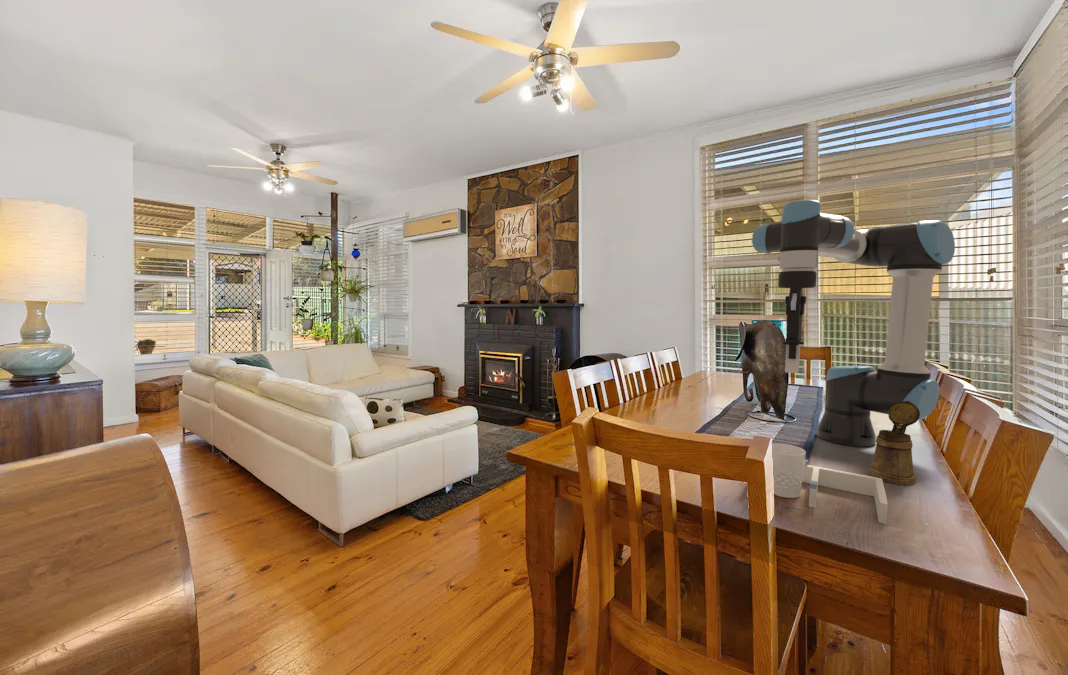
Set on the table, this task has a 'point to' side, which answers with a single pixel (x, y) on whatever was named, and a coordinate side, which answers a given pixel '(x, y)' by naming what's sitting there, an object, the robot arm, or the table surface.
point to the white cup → (788, 469)
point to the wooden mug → (896, 447)
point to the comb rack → (846, 486)
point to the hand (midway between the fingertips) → (791, 372)
